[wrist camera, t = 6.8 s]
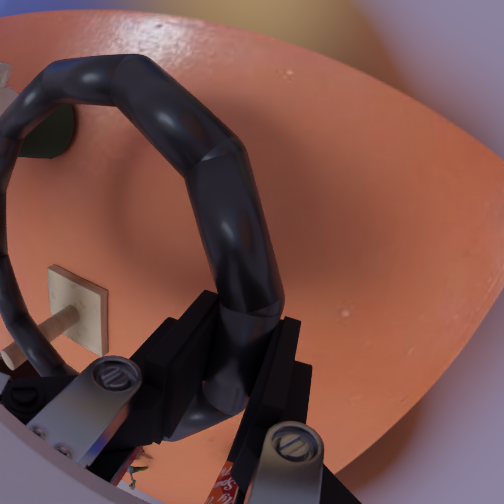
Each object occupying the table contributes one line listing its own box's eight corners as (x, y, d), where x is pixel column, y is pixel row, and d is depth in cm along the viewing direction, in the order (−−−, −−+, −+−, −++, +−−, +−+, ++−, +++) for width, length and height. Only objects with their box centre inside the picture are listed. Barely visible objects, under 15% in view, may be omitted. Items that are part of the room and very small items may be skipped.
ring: (12, 330, 16) (-6, 341, 15) (13, 72, 10) (-12, 71, 9) (225, 463, 13) (213, 489, 11) (349, 90, 7) (350, 72, 6)
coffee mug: (45, 346, 34) (-3, 383, 25) (58, 390, 37) (19, 427, 28) (2, 319, 36) (-41, 346, 27) (15, 361, 39) (-22, 389, 30)
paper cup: (250, 425, 28) (208, 538, 16) (303, 457, 29) (281, 564, 16) (211, 448, 31) (167, 540, 18) (260, 476, 32) (231, 566, 18)
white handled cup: (58, 67, 22) (-48, 55, 10) (100, 82, 22) (-24, 64, 10) (28, 164, 26) (-71, 184, 14) (64, 190, 26) (-49, 221, 14)
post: (58, 323, 31) (-6, 369, 21) (54, 264, 29) (-25, 304, 18) (108, 352, 30) (44, 412, 20) (107, 290, 28) (25, 348, 17)
